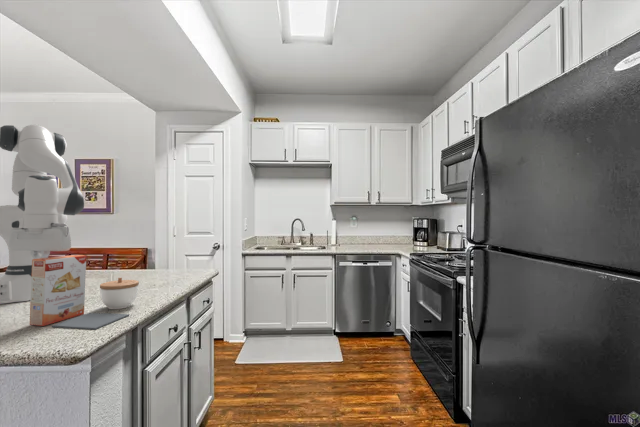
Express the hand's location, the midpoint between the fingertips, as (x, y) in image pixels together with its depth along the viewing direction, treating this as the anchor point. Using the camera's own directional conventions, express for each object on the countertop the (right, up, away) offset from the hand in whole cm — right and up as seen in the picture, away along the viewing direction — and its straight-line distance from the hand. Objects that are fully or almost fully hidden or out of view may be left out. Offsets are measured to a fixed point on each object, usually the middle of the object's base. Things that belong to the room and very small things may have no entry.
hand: (40, 264), depth 107 cm
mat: (+20, -18, -3) cm, 27 cm away
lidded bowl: (+18, -19, +15) cm, 30 cm away
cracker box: (+8, -18, -1) cm, 20 cm away
